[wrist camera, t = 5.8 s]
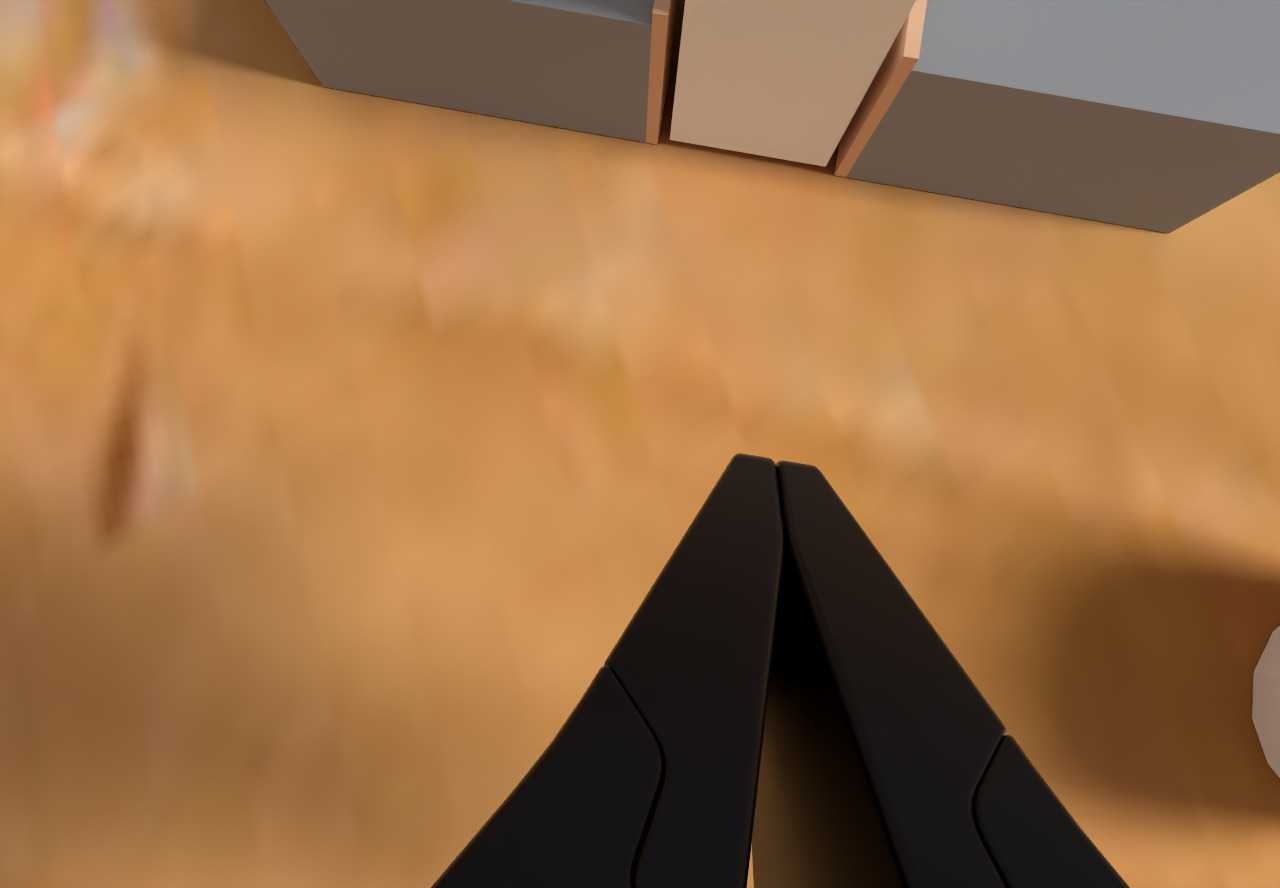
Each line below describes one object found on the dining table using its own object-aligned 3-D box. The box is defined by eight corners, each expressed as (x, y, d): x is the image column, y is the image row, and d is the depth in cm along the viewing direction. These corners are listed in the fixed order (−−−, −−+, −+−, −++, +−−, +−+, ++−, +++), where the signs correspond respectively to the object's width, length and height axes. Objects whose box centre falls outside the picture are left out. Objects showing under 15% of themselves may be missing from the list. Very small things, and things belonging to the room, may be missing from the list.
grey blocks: (1168, 233, 22) (1349, 133, 16) (323, 86, 22) (222, -62, 16) (1188, 51, 22) (1369, -103, 17) (363, -91, 22) (279, -291, 17)
